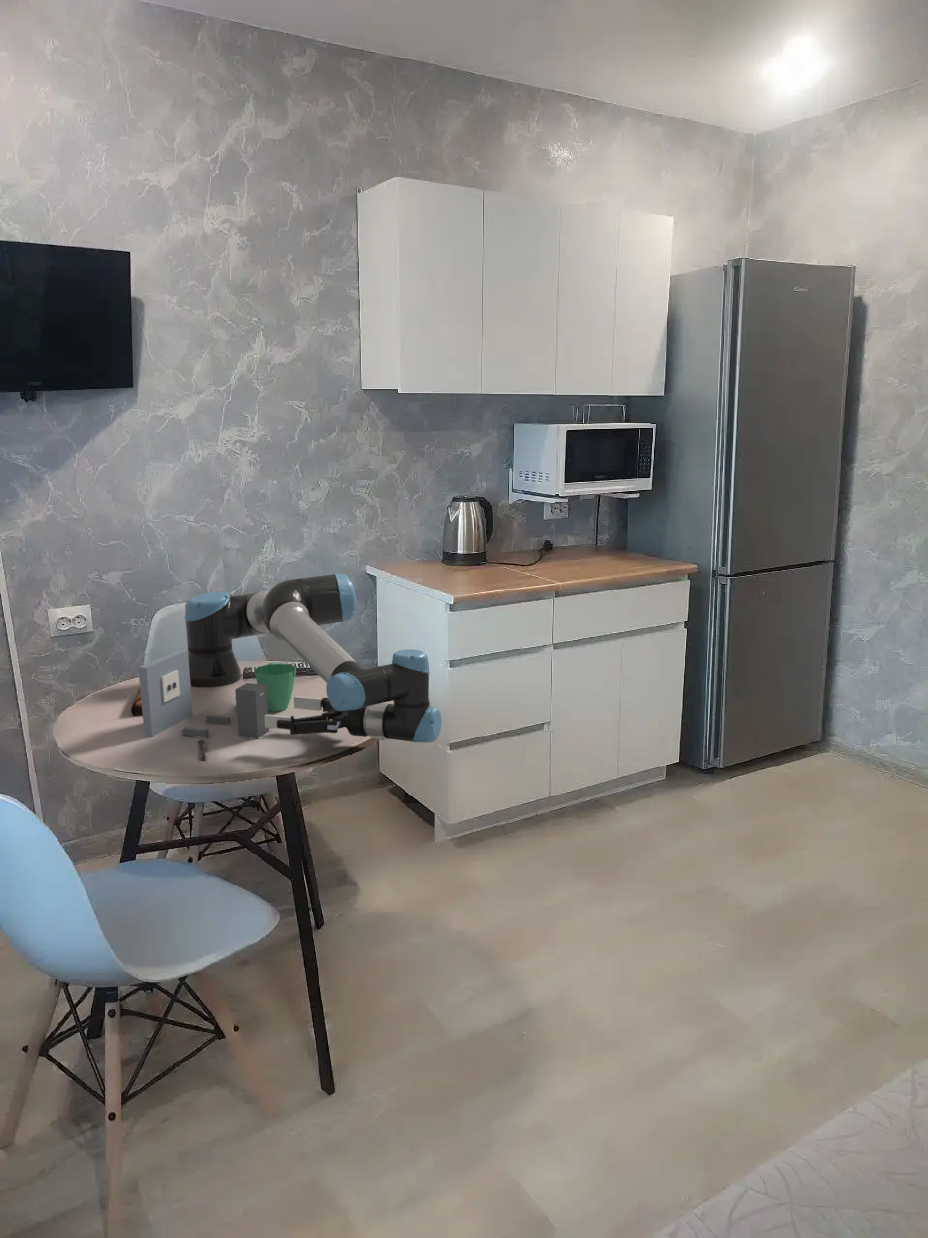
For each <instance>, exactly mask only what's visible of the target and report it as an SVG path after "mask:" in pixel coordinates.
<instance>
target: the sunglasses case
mask: <svg viewBox="0 0 928 1238" xmlns="http://www.w3.org/2000/svg"><path fill="white" fill-rule="evenodd" d="M130 712H131V714H132V716H133V717H141V716H142V717H143V712H142V701H141V690H140V688H139V689H138V691H137V692H136V695H135V697H134V700H133V701H132V704H131V709H130Z"/></svg>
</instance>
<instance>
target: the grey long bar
mask: <svg viewBox="0 0 928 1238" xmlns="http://www.w3.org/2000/svg"><path fill="white" fill-rule="evenodd" d="M204 738H205V737H197V743H198V745H199V753H200V761H206V760H207V758H206V757H207V756H206V750H205V739H204Z"/></svg>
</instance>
